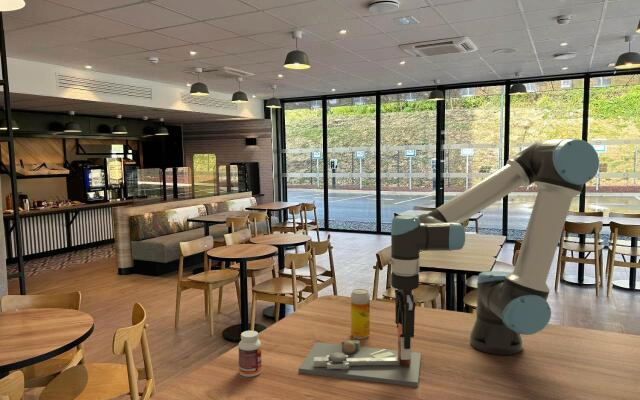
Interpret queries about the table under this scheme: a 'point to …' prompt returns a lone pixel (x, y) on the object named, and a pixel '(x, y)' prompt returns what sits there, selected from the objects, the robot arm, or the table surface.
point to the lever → (364, 359)
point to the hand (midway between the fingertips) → (404, 355)
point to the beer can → (360, 313)
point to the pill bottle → (249, 354)
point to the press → (362, 372)
